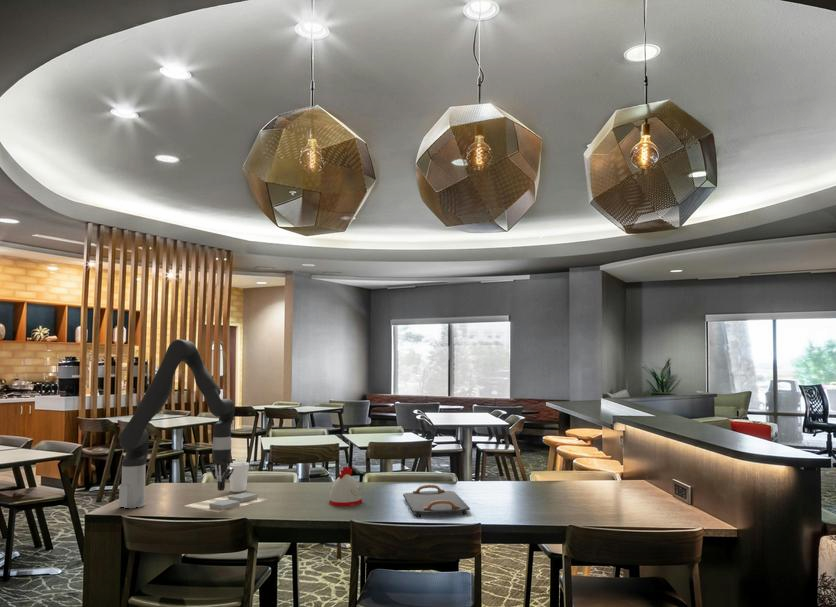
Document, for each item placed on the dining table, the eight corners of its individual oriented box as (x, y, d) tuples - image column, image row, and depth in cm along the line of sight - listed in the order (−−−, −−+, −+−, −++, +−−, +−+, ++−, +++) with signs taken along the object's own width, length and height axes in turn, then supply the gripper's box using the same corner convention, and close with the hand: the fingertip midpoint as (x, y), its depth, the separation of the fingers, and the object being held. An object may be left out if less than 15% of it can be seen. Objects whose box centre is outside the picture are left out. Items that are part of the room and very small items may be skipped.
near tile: (209, 508, 261) (222, 510, 256) (209, 503, 261) (222, 505, 257) (227, 503, 268) (239, 506, 264) (227, 499, 268) (239, 501, 264)
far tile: (228, 500, 274) (240, 503, 269) (228, 496, 274) (241, 498, 270) (244, 496, 281) (257, 498, 277) (244, 492, 281) (257, 494, 277)
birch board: (217, 514, 253) (217, 512, 253) (182, 508, 266) (182, 505, 266) (268, 501, 276) (268, 499, 276) (234, 496, 288) (234, 493, 288)
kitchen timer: (368, 501, 274) (368, 465, 275) (347, 507, 262) (347, 470, 264) (343, 497, 281) (343, 463, 283) (322, 504, 270) (322, 467, 271)
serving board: (472, 517, 245) (472, 501, 245) (412, 520, 242) (412, 504, 242) (453, 496, 283) (452, 482, 283) (401, 498, 280) (401, 484, 280)
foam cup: (241, 495, 290) (241, 465, 291) (223, 494, 293) (223, 465, 294) (252, 490, 299) (253, 462, 300) (235, 489, 302) (236, 461, 303)
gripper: (204, 447, 266) (203, 490, 265) (225, 450, 259) (224, 493, 257) (218, 445, 272) (218, 487, 271) (239, 447, 265) (239, 490, 263)
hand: (221, 490), depth 264 cm, fingers closed
